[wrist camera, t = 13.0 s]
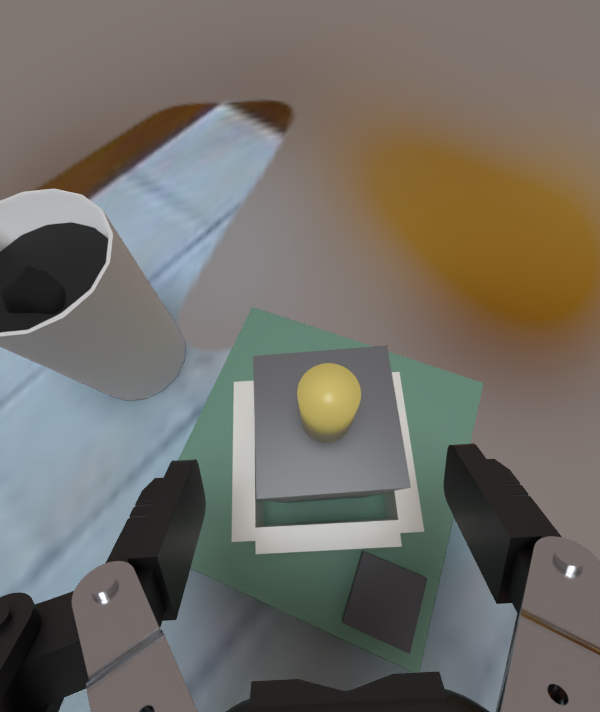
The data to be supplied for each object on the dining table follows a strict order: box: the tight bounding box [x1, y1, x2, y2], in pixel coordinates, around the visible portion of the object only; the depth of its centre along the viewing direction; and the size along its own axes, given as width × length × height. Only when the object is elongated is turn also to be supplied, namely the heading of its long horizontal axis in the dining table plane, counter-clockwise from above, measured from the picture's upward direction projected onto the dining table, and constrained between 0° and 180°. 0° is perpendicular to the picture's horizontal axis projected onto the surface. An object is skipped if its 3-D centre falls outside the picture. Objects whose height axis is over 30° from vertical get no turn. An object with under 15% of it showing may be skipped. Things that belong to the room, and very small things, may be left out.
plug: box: [253, 345, 411, 503], centre depth 14 cm, size 4×4×12 cm
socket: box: [232, 372, 424, 554], centre depth 19 cm, size 8×8×3 cm
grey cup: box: [0, 189, 185, 401], centre depth 19 cm, size 7×7×10 cm
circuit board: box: [179, 307, 483, 673], centre depth 20 cm, size 14×14×2 cm
